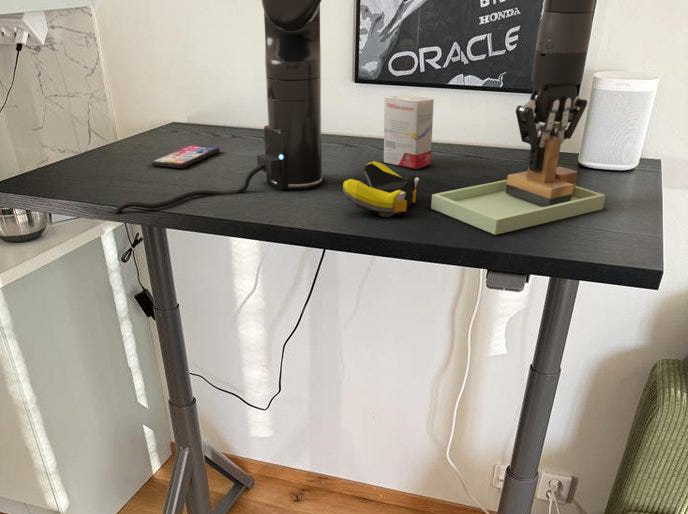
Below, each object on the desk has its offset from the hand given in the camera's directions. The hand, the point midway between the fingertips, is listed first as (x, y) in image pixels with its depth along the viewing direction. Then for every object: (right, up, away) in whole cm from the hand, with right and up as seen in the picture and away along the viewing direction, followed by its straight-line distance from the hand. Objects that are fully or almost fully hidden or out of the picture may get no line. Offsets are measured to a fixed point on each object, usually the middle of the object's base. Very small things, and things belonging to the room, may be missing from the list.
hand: (541, 169), depth 119 cm
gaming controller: (-26, -5, +3) cm, 27 cm away
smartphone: (-63, +14, +28) cm, 71 cm away
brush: (0, -4, +3) cm, 5 cm away
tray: (-4, -6, +2) cm, 7 cm away
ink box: (-20, +11, +25) cm, 34 cm away
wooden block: (+4, -2, +5) cm, 7 cm away
